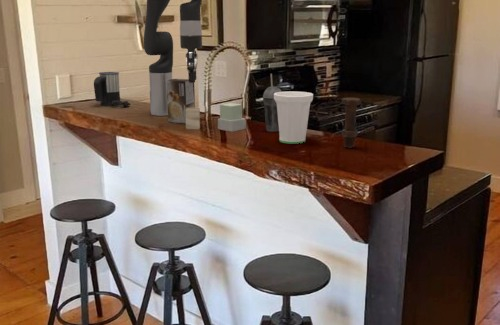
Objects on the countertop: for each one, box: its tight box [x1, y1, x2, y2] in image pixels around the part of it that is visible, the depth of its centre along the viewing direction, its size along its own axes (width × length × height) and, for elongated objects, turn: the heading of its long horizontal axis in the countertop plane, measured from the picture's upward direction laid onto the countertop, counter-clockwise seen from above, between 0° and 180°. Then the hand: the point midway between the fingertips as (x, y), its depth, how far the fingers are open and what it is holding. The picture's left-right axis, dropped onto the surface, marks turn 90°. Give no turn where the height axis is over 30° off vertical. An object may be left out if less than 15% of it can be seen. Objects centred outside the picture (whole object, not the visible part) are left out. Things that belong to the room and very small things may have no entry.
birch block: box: [185, 107, 201, 130], centre depth 191 cm, size 5×5×7 cm
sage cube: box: [219, 102, 243, 121], centre depth 189 cm, size 6×6×5 cm
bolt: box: [340, 97, 362, 149], centre depth 161 cm, size 6×5×15 cm
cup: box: [274, 90, 314, 145], centre depth 169 cm, size 12×12×15 cm
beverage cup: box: [262, 73, 283, 133], centre depth 185 cm, size 7×7×20 cm
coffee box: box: [166, 78, 196, 124], centre depth 202 cm, size 9×6×16 cm
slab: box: [217, 117, 247, 133], centre depth 190 cm, size 7×7×4 cm
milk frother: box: [93, 71, 131, 108], centre depth 239 cm, size 14×16×15 cm
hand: (192, 81), depth 188 cm, fingers open, 8 cm apart
